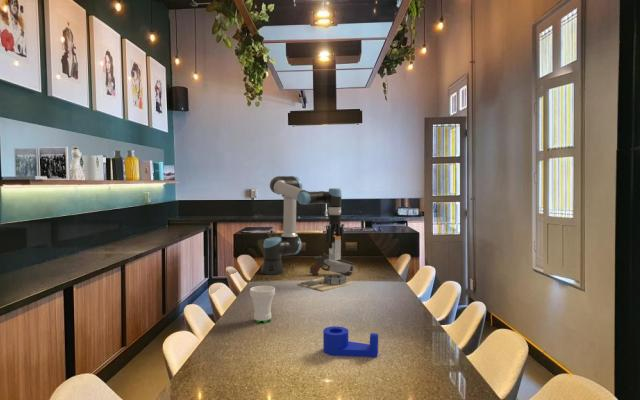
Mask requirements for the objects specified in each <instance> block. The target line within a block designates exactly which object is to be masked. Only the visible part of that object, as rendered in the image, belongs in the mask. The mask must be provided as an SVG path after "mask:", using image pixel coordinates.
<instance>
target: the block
mask: <svg viewBox="0 0 640 400" xmlns="http://www.w3.org/2000/svg"><path fill="white" fill-rule="evenodd" d="M333 243H334V254H329V253H328V256H329V259H330V260H340V259H342V252H341V251H342V249H341V248H342V242H341V236H336V234H334V237H333Z"/></svg>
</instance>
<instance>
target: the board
mask: <svg viewBox="0 0 640 400" xmlns="http://www.w3.org/2000/svg"><path fill="white" fill-rule="evenodd" d="M311 280H312V281H317V282H321V283H322V284H317V285H313V286H309V285H305V284H301V283H302V282H303V281H302V282H296V285H297V286H300V287H305V288H309V289H313V290H316V291H319V292H326V291H327V292H328V291H330V290H334V289H338V288H342V287H346V286H350V285H353V284H355V282H354V281H350V280H346V284H342V285H329V284H325V283H324V276H323V277H319V278H316V279H311ZM306 281H307V280H305V281H304V282H306Z"/></svg>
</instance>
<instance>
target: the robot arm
mask: <svg viewBox="0 0 640 400" xmlns="http://www.w3.org/2000/svg"><path fill="white" fill-rule="evenodd" d="M269 189H270V191H271V192H273V193H274V194H276V195H281V197H282V198H283V232H282V234H281V237H280V236H273V237H268V238H264V241H263V246H262V248H263V262H262V264H261V265H262V266H261V269H260V273H261V274H262V275H269V276H270V275H271V276H275V275H281V274H284V272H285V271H284V265H283V262H282V257H283V256H293V255H297V254H298V253H299V252H300V251H301V250H302V240H301V238H300V237H299V235H298V234H297V202H298V204H300V205H304V206H306V205H320V204H321V205H323V204H326V205H328V221H329V223H328V224H327V225H325V233H326V234H325V235H326V237H325V238H326V239H325V241H326V243H328V255H329V254H334V243H333V237H334V235H336V236H341V243H342V242H343V241H344V227H345V224H344V223H341V221H342V190H341V188H338V187H337V188H329V189H328V191H325V190H320V191H309V190H305V189H303V183H302V180H301V179H300V178H299V177H298V176H293V175H291V176H290V175H288V176H287V175H282V176H281V175H279V176H275V177H273V178H272V179H271V180H270V181H269Z"/></svg>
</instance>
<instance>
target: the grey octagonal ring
mask: <svg viewBox="0 0 640 400" xmlns="http://www.w3.org/2000/svg"><path fill="white" fill-rule="evenodd" d="M323 277H324V283H325V284H329V285H342V284H346V281H347V275H344V274H341V273H329V274H325V275H323Z"/></svg>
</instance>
